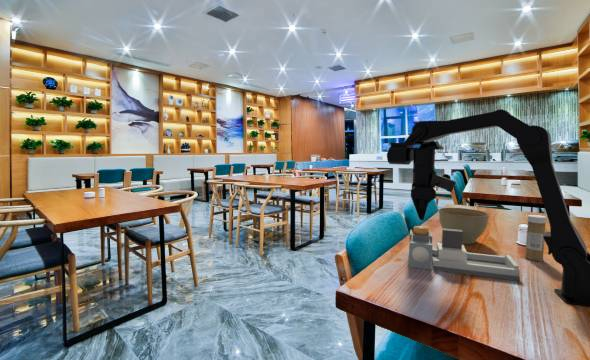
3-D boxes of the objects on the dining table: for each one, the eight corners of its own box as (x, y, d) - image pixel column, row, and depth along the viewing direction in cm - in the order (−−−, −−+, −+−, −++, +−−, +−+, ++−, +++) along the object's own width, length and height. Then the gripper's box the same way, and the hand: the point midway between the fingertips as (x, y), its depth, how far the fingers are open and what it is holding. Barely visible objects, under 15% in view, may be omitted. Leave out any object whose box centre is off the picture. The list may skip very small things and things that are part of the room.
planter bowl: (472, 250, 104) (474, 218, 103) (428, 238, 117) (429, 210, 116) (495, 242, 112) (497, 212, 111) (452, 232, 126) (453, 206, 125)
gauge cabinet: (431, 270, 86) (432, 239, 85) (408, 267, 88) (409, 237, 87) (429, 256, 98) (431, 229, 97) (409, 253, 100) (410, 227, 99)
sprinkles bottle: (545, 259, 95) (549, 216, 93) (539, 262, 92) (543, 217, 91) (528, 255, 98) (531, 213, 97) (521, 258, 96) (525, 215, 95)
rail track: (519, 281, 79) (520, 268, 79) (433, 269, 86) (434, 258, 86) (506, 264, 90) (507, 253, 90) (431, 256, 97) (432, 245, 97)
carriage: (466, 266, 85) (467, 234, 85) (438, 262, 88) (439, 231, 87) (462, 258, 92) (464, 228, 91) (436, 255, 94) (438, 226, 94)
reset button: (428, 236, 90) (428, 229, 90) (413, 235, 91) (413, 228, 91) (427, 233, 93) (428, 226, 93) (413, 232, 95) (413, 225, 95)
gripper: (458, 167, 79) (455, 228, 80) (451, 164, 96) (448, 214, 98) (411, 166, 83) (409, 224, 84) (412, 163, 100) (410, 211, 102)
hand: (421, 218), depth 92 cm, fingers open, 4 cm apart
